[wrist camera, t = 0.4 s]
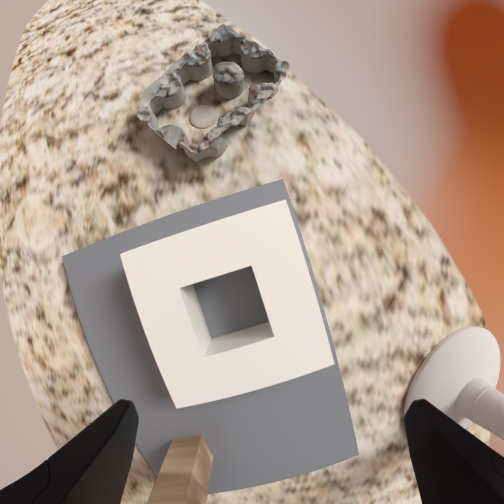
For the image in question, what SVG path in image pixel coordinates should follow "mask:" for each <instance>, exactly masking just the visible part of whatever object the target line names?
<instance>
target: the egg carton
mask: <svg viewBox="0 0 504 504" xmlns="http://www.w3.org/2000/svg"><path fill="white" fill-rule="evenodd" d="M234 53H236V54H238V55H240V56H241V64H242V68H243V69H244V70H245V71H247V72H249V73H260V72H263V71H264V70H268V71H270V72H271V73H273V74H274V83H273V82H271V83H263V82H262V83H260V84H258V85H251V87H250V88H249V99H248V105H249V108H247V107H236V108H235V110H234V111H230V112H227V113H226V114H225V115H224V116H223V117H219V119H218V124H217V127H215V128H213V129H212V130H211V131H209V132H208V133H207V134H206V136H205V137H204V138H203V139H202V140H201V141H200V142H199V143H197V144H195V145H191V144H190V143H189V140H188V138H187V136H186V134H185V133H184V131H183V130H182V128H180V127H178V126H174V125H167V126H164V127H162V128H159V122H158V120H157V118H156V117H155V116H156V115H157V114H158V112H159V111H160V110H161V109H162V108H164V109H175V108H177V107H179V106H180V105H182V104H183V102H184V101H185V98H186V93H185V90H184V87H183V86H184V85H185V84H186V83H187V82H188V81H189V80H194V81H200V80H204V79H206V78H207V77H209V76H210V75H211V73H212V71H213V67H212V62H211V59H212V58H213V57H214V56H215V55H217V56H229V55H232V54H234ZM288 68H290V65H289V63H287V62H286V61H283V62H282V61H280V60H279V59H277V58H276V57H275V56H274V55H273V53H272V52H271V51H270V50H269V49H264V48H262V47H261V46H260V45H259V44H258V43H256V42H254V41H252V40H250V39H249V38H248V37H246V36H245V35H243V36H241V35H239V34H237V33H236V32H235V31H234V30H232V29H231V28H229V27H227V26H225V25H224V24H223V25H220V26H219V27H218V28H217V29H216V30H215V31H214V32H213V33H212V34H211V35H209V36H208V37H207V38H206V39H205V41H204V42H203V43H202V44H201V45H197V46H196V47H195V49H194V50H193V51H191V52H186V53H185V54H184V55H183V56H182V58H181V59H180V60H179V61H178V62H177V63H175V64H174V65H173V66H172V67H170V68H169V70H168V71H167V72H166V73H165V74H164V75H163V76H161V77H160V78H159V79H158V80H156V81H155V82H154V83H152V84H151V85H150V86H148V87H147V89H146V90H145V91H144V92H143V94H142V96H141V99H140V103H139V108H138V114H137V116H138V118H139V119H140V120H142V121H146V122H147V124H148V125H149V126H150V127H151V129H152V130H153V131H154V132H155V134H156V135H157V136H159V137H160V138H161V139H163V140H165V141H166V142H167V143H168V144H169V145H171V146H172V147H173V148H174V149H176V150H177V147H178V146H180V147H181V148H183V149H184V151H185V153H186V154H187V156H188V157H189V158H191V159H192V160H193V161H195V162H196V163H197V162H199V161H200V160H202V159H203V158H206V157H214V158H218V157H220V156H221V155H222V154H223V153H224V151H225V150H226V148H227V147H228V146H227V145H226V142H225V139H224V138H223V134H224V132H225V130H226V129H227V128H228V127H231V126H234V125H235V126H236V125H243V126H245V127H246V126H247V125H248V123H249V121H250V120H251V118H252V116H253V115H254V113H255V112H254V110H255V109H257V108H258V107H259V106H261V105H262V104H263V103H264V102H265V101H266V100H267V98H268V97H269V98H272V97H273V96H275V94H276V93H277V92H278V87H277V86H278V85H279V84H280V82H281V81H282V80H283V79H285V77H286V72H287V70H288ZM213 77H214V83H215V88H216V92H217V94H218V95H219V96H220V97H222V98H225V99H233V98H236V97H238V96H240V95H241V94H242V92H243V91H244V72H243V70H242V69H241V67H240V66H238V65H237V64H236V63H235V62H220V63H218V64H216V65H215V68H214V73H213ZM189 119H190V123H191V125H193V126H194V127H196V128H200V129H205V128H208V127H210V126H212V125H213V124H214V123H215V121H216V119H217V111H216V109H215V108H214V107H213V106H211V105H207V104H202V105H199V106H197V107H195V108H194V109H192V111H191V112H190V115H189Z"/></svg>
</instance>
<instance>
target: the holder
mask: <svg viewBox="0 0 504 504" xmlns="http://www.w3.org/2000/svg"><path fill="white" fill-rule="evenodd" d="M120 256H121V260H122V263H123V267H124V270H125V274H126V277H127V280H128V284H129V287H130V290H131V293H132V296H133V300H134V303H135V306H136V309H137V312H138V315H139V317H140V320H141V323H142V326H143V329H144V332H145V334H146V337H147V340H148V342H149V345H150V348H151V350H152V353H153V355H154V358H155V360H156V363H157V365H158V368H159V370H160V373H161V375H162V377H163V380H164V382H165V384H166V387H167V389H168V391H169V393H170V396H171V398H172V400H173V402H174V404H175V406H176V409H177V408H182V407H188V406H193V405H197V404H202V403H207V402H211V401H215V400H220V399H224V398H228V397H232V396H236V395H240V394H244V393H247V392H251V391H255V390H258V389H262V388H265V387H268V386H272V385H275V384H278V383H282V382H285V381H288V380H291V379H294V378H297V377H300V376H303V375H306V374H309V373H312V372H315V371H317V370H320V369H323V368H326V367H328V366H331V365H334V364H335V363H334V359H333V356H332V352H331V348H330V344H329V341H328V337H327V333H326V330H325V326H324V322H323V319H322V315H321V312H320V308H319V305H318V301H317V298H316V294H315V291H314V287H313V284H312V281H311V277H310V274H309V271H308V267H307V264H306V261H305V258H304V254H303V251H302V248H301V245H300V242H299V238H298V235H297V232H296V229H295V226H294V223H293V220H292V217H291V214H290V211H289V208H288V205H287V202H286V199H285V200H282V201H279V202H275V203H272V204H269V205H265V206H262V207H259V208H255V209H252V210H249V211H246V212H243V213H239V214H236V215H233V216H230V217H227V218H224V219H220V220H217V221H214V222H211V223H208V224H205V225H202V226H199V227H196V228H193V229H190V230H187V231H184V232H181V233H178V234H175V235H172V236H169V237H166V238H163V239H160V240H157V241H155V242H152V243H149V244H146V245H143V246H140V247H138V248H135V249H132V250H129V251H126V252H124V253H121V254H120ZM248 266H252V269H253V273H254V276H255V279H256V282H257V285H258V288H259V291H260V295H261V298H262V301H263V304H264V307H265V310H266V313H267V316H268V320H269V322H266V323H263V324H259V325H256V326H253V327H250V328H246V329H243V330H240V331H236V332H233V333H230V334H226V335H223V336H219V337H216V338H212V339H211V336H210V333H209V330H208V327H207V325H206V322H205V319H204V316H203V313H202V310H201V307H200V304H199V301H198V298H197V295H196V292H195V289H194V286H193V284H194V283H197V282H200V281H204V280H207V279H210V278H213V277H217V276H220V275H223V274H226V273H229V272H232V271H236V270H239V269H242V268H245V267H248Z"/></svg>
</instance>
